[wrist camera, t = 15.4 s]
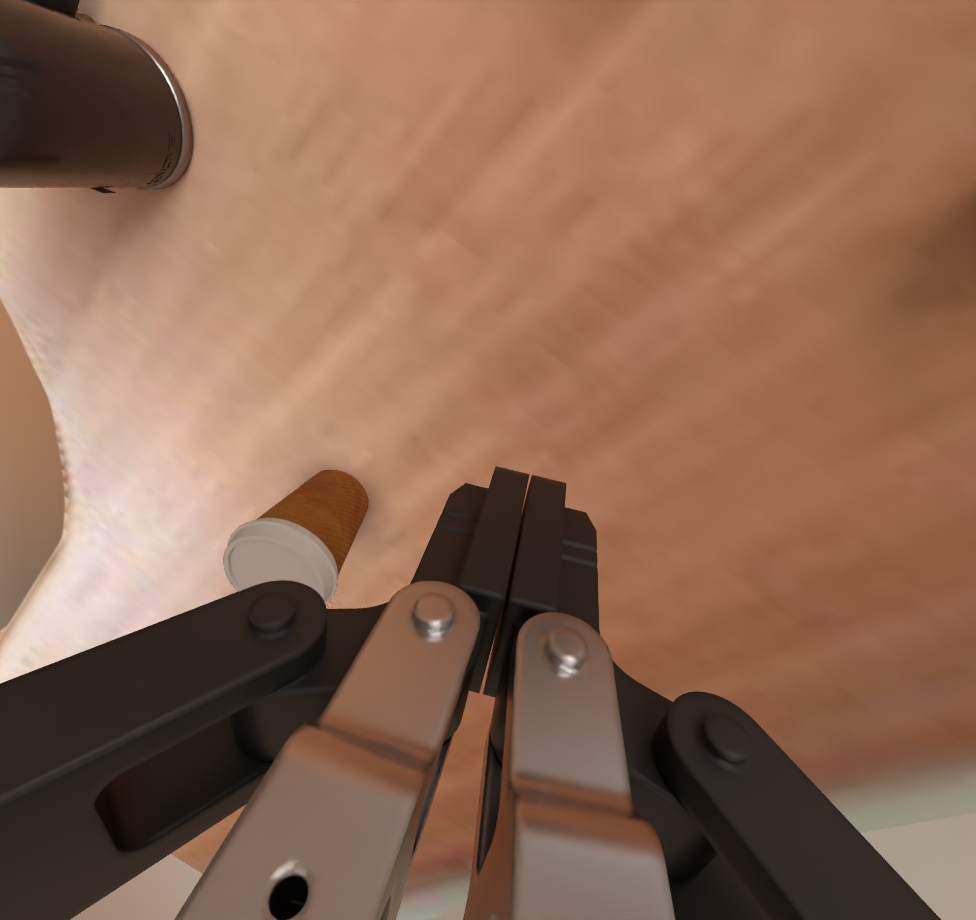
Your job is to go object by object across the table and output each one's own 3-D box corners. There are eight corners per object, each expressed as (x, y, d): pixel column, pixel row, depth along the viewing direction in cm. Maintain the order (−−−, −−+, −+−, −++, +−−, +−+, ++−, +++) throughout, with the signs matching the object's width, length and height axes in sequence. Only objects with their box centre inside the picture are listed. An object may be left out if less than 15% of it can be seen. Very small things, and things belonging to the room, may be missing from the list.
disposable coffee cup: (393, 534, 50) (343, 623, 40) (311, 533, 52) (243, 619, 42) (371, 453, 46) (308, 530, 35) (281, 456, 48) (198, 530, 37)
